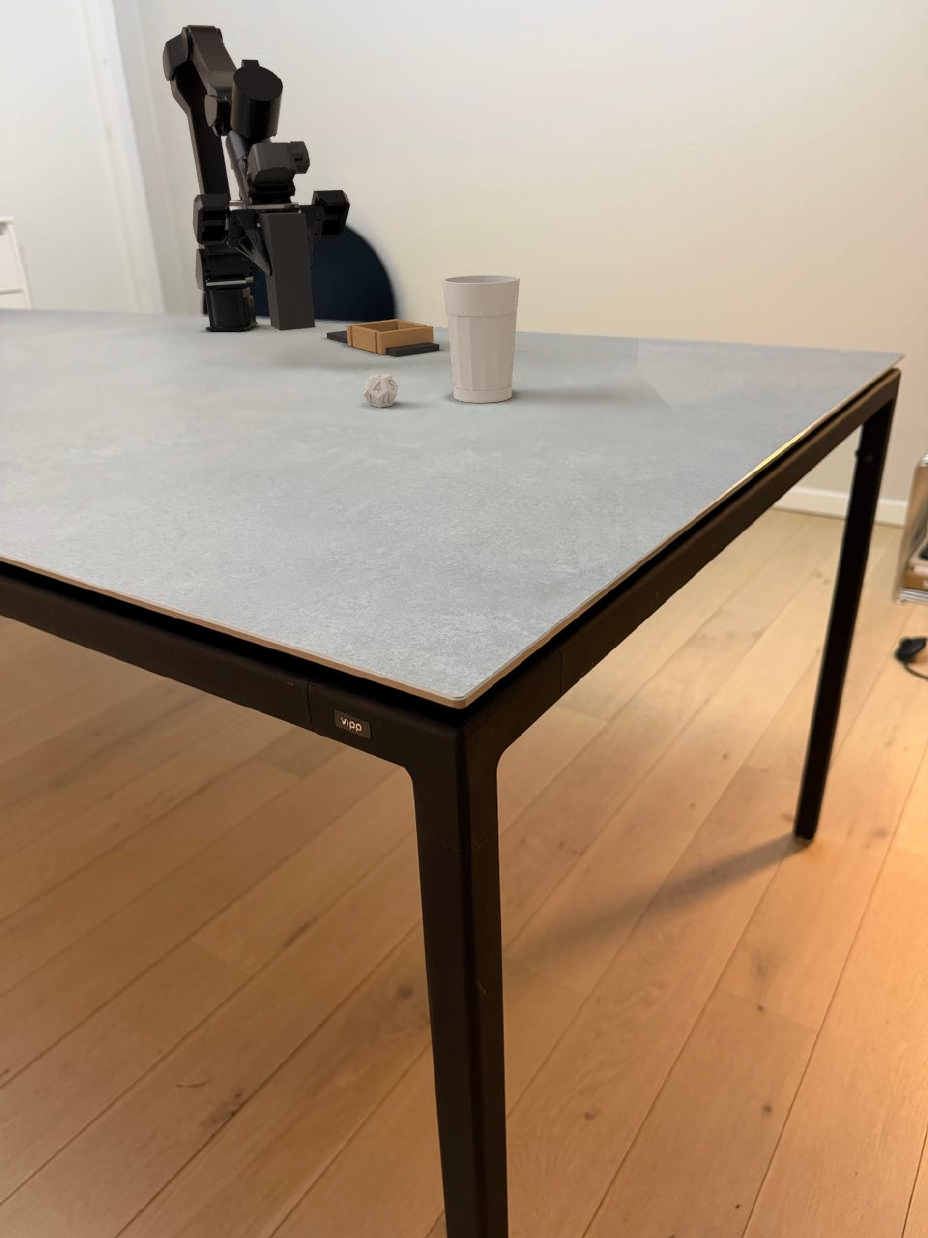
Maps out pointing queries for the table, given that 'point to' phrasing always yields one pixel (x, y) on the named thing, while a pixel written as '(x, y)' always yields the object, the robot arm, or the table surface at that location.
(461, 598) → the table surface
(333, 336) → the wooden tray on slab
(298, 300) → the dark rectangular block
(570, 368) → the table surface
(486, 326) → the cup
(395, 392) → the game die
